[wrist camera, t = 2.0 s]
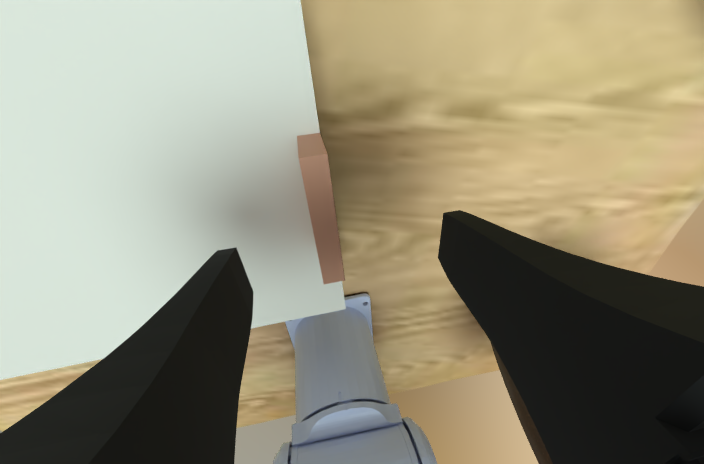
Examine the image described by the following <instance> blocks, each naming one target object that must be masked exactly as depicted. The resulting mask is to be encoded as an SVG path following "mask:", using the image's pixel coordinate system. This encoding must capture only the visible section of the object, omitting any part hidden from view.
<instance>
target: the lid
mask: <svg viewBox="0 0 704 464" xmlns="http://www.w3.org/2000/svg"><path fill="white" fill-rule="evenodd" d="M230 248H237V251H238V253H239V256H240V258H241V261H242V263H243V266H244V269H245V271H246V274H247V276H248V279H249V282H250V284H251V287H252V289H253V316H252V324H251V328H256V327H261V326H265V325H270V324H275V323H280V322H285V321H290V320H295V319H300V318H304V317H309V316H314V315H319V314H324V313H329V312H334V311H339V310H343V309H346V306H345V299H344V292H343V286H342V281H344V280H345V277H344V270H343V262H342V255H341V248H340V241H339V234H338V226H337V219H336V212H335V205H334V198H333V190H332V183H331V176H330V169H329V161H328V154H327V151H326V148H325V146H324V143H323V140H322V137H321V134H320V130H319V123H318V116H317V110H316V103H315V96H314V89H313V82H312V76H311V69H310V62H309V55H308V49H307V42H306V35H305V28H304V21H303V15H302V8H301V1H300V0H0V380H2V379H7V378H12V377H17V376H22V375H27V374H31V373H36V372H41V371H46V370H51V369H56V368H61V367H66V366H70V365H75V364H80V363H85V362H90V361H95V360H100V359H104V358H105V357H106V356H107V355H109V354H110V353H111V352H112V351H113V350H115V349H116V348H117V347H118V346H119V345H121V344H122V343H123V342H124V341H125V340H127V339H128V338H129V337H130V336H131V335H132V334H134V333H135V332H136V331H137V330H138V329H139V328H140V327H141V326H142V325H144V324H145V323H146V322H147V321H148V320H149V319H150V318H151V317H152V316H153V315H154V314H155V313H156V312H157V311H158V310H159V309H160V308H161V307H162V306H163V305H164V304H166V303H167V302H168V301H169V300H170V299H171V298H172V297H173V296H174V295H175V294H176V293H177V292H178V291H179V290H180V289H181V288H182V286H183V285H184V284H185V283H186V282H187V281H188V280H189V279H190V278H191V277H192V276H193V275H194V274H195V273H196V272H197V271H198V270H199V269H200V268H201V266H202V265H203V264H204V263H205V262H206V261H207V260H208V259H209V258H210V257H211V256H212V255H213V254H214V253H215V252H216V251H218V250H224V249H230Z"/></svg>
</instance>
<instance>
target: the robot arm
mask: <svg viewBox="0 0 704 464" xmlns="http://www.w3.org/2000/svg"><path fill="white" fill-rule="evenodd" d="M438 259H439V261H440V263H441V265H442V267H443V269H444V271H445V273H446V275H447V277H448V279H449V281H450V282H451V284H452V285H453V287H454V288H455V290H456V291H457V293H458V294H459V296H460V297H461V298H462V300H463V301H464V303H465V304H466V306H467V307H468V309H469V310H470V311H471V313H472V314H473V316H474V317H475V319H476V320H477V321H478V323H479V324H480V326H481V327H482V329H483V330H484V331H485V333H486V335H487V336H488V338H489V339H490V341H491V342H492V344H493V346H494V348H495V349H496V351H497V353H498V355H499V357H500V358H501V360H502V362H503V364H504V366H505V367H506V369H507V371H508V373H509V375H510V377H511V379H512V380H513V382H514V384H515V386H516V388H517V390H518V392H519V394H520V396H521V398H522V400H523V402H524V404H525V406H526V408H527V410H528V412H529V414H530V416H531V418H532V420H533V422H534V424H535V426H536V428H537V430H538V432H539V435H540V437H541V439H542V441H543V443H544V445H545V448H546V450H547V452H548V454H549V456H550V459H551V461H552V463H553V464H704V287H702V286H696V285H691V284H686V283H681V282H676V281H672V280H667V279H663V278H658V277H653V276H649V275H645V274H641V273H637V272H633V271H629V270H625V269H621V268H617V267H613V266H610V265H606V264H603V263H599V262H596V261H592V260H589V259H586V258H583V257H580V256H576V255H573V254H570V253H567V252H564V251H561V250H558V249H555V248H553V247H550V246H547V245H545V244H542V243H539V242H537V241H534V240H531V239H529V238H526V237H524V236H521V235H519V234H517V233H514V232H512V231H509V230H507V229H505V228H502V227H500V226H498V225H495V224H493V223H491V222H488V221H486V220H484V219H481V218H479V217H477V216H474V215H472V214H469V213H466V212H463V211H460V210H459V211H453V212H447V213H443V221H442V230H441V238H440V246H439V254H438ZM344 299H345V306H346V309H343V310H339V311H334V312H329V313H324V314H319V315H314V316H309V317H304V318H300V319H295V320H290V321H285V323H286V326H287V329H288V332H289V335H290V338H291V341H292V344H293V347H294V350H295V394H296V423H295V424H293V425H292V442H286V443H283V444H282V446H281V447H280V450H279V452H278V453H277V454H276V456H275V458H274V460H273V464H437V462H436V458H435V456H434V453H433V451H432V448H431V445H430V443H429V441H428V439H427V437H426V435H425V434H424V432H423V430H422V429H421V428H420V427H419V426H418V425H417V424H416V423H415V422H414V421H413V420H412V419H411V418H409V417H405V418H401V415H400V411H399V408H398V405H397V404H396V403H395V404H391V403H390V400H389V396H388V392H387V389H386V385H385V382H384V378H383V375H382V371H381V368H380V364H379V361H378V357H377V353H376V350H375V346H374V343H373V331H372V317H371V304H370V297H369V295H368V294H366V293H364V294H359V295H354V296H349V297H344ZM364 302H365V303H364ZM252 316H253V289H252V287H251V284H250V282H249V279H248V276H247V274H246V271H245V269H244V266H243V263H242V261H241V258H240V256H239V253H238V251H237V248H230V249H224V250H218V251H216V252H215V253H214V254H213V255H212V256H211V257H210V258H209V259H208V260H207V261H206V262H205V263H204V264H203V265H202V266H201V268H200V269H199V270H198V271H197V272H196V273H195V274H194V275H193V276H192V277H191V278H190V279H189V280H188V281H187V282H186V283H185V284H184V285H183V286H182V288H181V289H180V290H179V291H178V292H177V293H176V294H175V295H174V296H173V297H172V298H171V299H170V300H169V301H168V302H167V303H166V304H164V305H163V306H162V307H161V308H160V309H159V310H158V311H157V312H156V313H155V314H154V315H153V316H152V317H151V318H150V319H149V320H148V321H147V322H146V323H145V324H144V325H142V326H141V327H140V328H139V329H138V330H137V331H136V332H135V333H134V334H132V335H131V336H130V337H129V338H128V339H127V340H125V341H124V342H123V343H122V344H121V345H119V346H118V347H117V348H116V349H115V350H113V351H112V352H111V353H110V354H109V355H107V356H106V357H105V358H104V359H102V360H101V361H100V362H99V363H97V364H96V365H95V366H94V367H92V368H91V369H90V370H88V371H87V372H86V373H84V374H83V375H82V376H80V377H79V378H78V379H76V380H75V381H74V382H72V383H71V384H70V385H68V386H67V387H66V388H64V389H63V390H62V391H60V392H59V393H58V394H56V395H55V396H54V397H52V398H51V399H50V400H48V401H47V402H45V403H44V404H43V405H41V406H40V407H38V408H37V409H35V410H34V411H33V412H31V413H30V414H28V415H27V416H25V417H24V418H22V419H21V420H20V421H18V422H17V423H15V424H14V425H12V426H11V427H9V428H8V429H6V430H5V431H3V432H2V433H0V464H234V455H235V438H236V425H237V413H238V400H239V393H240V386H241V380H242V375H243V369H244V364H245V358H246V353H247V347H248V342H249V336H250V330H251V324H252Z"/></svg>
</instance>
